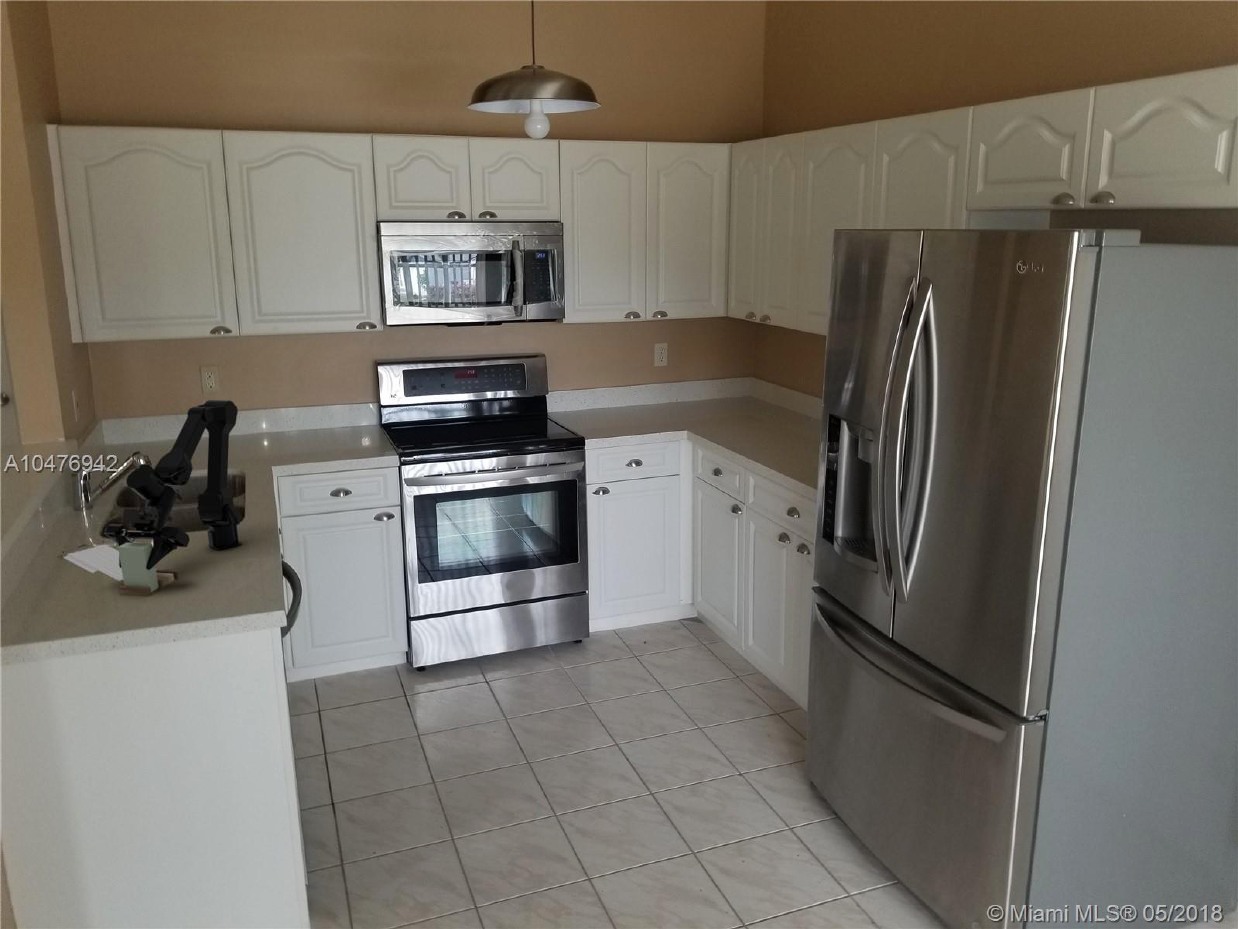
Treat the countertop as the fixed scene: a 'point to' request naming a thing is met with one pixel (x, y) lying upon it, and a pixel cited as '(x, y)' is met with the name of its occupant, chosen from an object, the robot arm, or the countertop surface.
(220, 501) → the robot arm
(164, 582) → the offcut low
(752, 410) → the countertop surface
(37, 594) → the countertop surface
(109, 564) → the baseboard
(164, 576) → the offcut top
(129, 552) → the pale green block
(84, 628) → the countertop surface
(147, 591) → the rack
